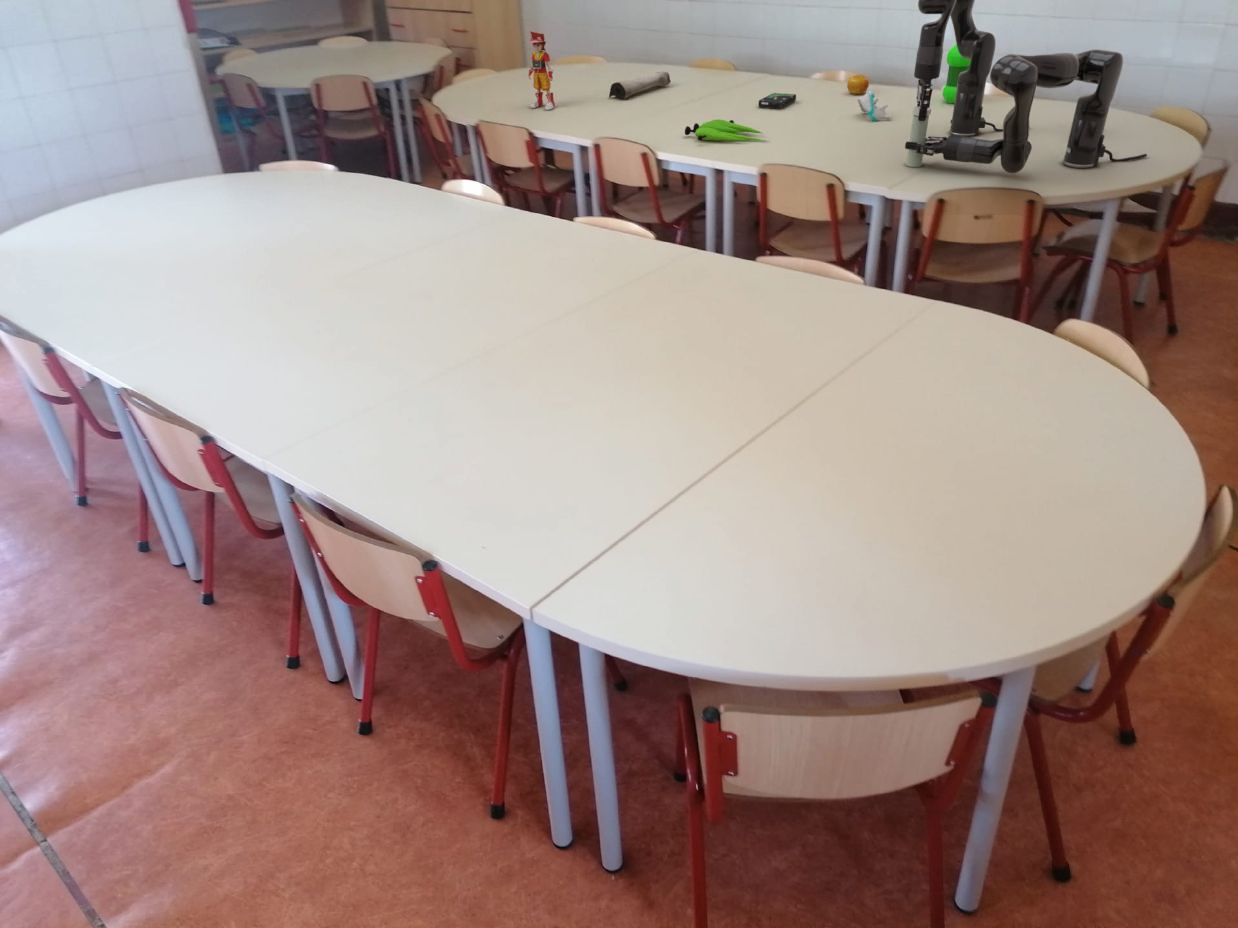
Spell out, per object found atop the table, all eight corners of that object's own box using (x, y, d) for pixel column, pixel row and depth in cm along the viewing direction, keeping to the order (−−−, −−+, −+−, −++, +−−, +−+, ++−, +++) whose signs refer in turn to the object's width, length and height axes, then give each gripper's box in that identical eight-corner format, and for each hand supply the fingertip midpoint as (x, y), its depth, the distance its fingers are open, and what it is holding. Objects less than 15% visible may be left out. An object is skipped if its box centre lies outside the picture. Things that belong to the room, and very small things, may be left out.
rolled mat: (651, 76, 408) (662, 61, 399) (662, 93, 408) (674, 79, 400) (605, 92, 391) (616, 77, 383) (617, 110, 391) (628, 95, 383)
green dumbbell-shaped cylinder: (973, 101, 354) (984, 32, 339) (955, 106, 349) (966, 36, 335) (952, 97, 361) (962, 29, 346) (934, 102, 356) (944, 33, 342)
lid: (930, 112, 285) (930, 106, 284) (931, 116, 280) (932, 111, 279) (911, 111, 286) (912, 106, 285) (912, 116, 281) (913, 110, 280)
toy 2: (674, 139, 326) (748, 154, 314) (675, 124, 324) (750, 138, 311) (708, 126, 347) (780, 140, 334) (710, 113, 344) (782, 125, 331)
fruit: (842, 86, 371) (854, 68, 368) (844, 90, 378) (856, 72, 375) (859, 97, 369) (871, 79, 366) (861, 100, 377) (873, 83, 374)
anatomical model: (852, 90, 344) (878, 82, 343) (855, 117, 350) (880, 110, 349) (864, 99, 332) (891, 92, 331) (867, 127, 338) (893, 120, 337)
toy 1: (525, 109, 381) (517, 32, 364) (534, 104, 388) (527, 28, 371) (550, 110, 377) (543, 32, 360) (559, 105, 384) (553, 28, 367)
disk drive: (781, 110, 359) (796, 101, 369) (782, 102, 357) (796, 94, 367) (757, 108, 364) (772, 99, 374) (758, 100, 362) (773, 92, 372)
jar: (904, 166, 292) (911, 112, 282) (909, 162, 295) (917, 108, 285) (918, 168, 289) (926, 113, 280) (923, 164, 293) (931, 110, 283)
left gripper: (913, 56, 280) (905, 112, 290) (918, 66, 269) (910, 124, 278) (938, 56, 279) (929, 112, 289) (944, 65, 268) (936, 124, 277)
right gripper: (970, 131, 284) (917, 125, 292) (956, 142, 274) (902, 136, 283) (966, 155, 288) (914, 149, 296) (952, 167, 279) (899, 160, 287)
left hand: (920, 118), depth 284 cm, fingers closed on lid, 5 cm apart
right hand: (908, 143), depth 290 cm, fingers closed on jar, 4 cm apart
